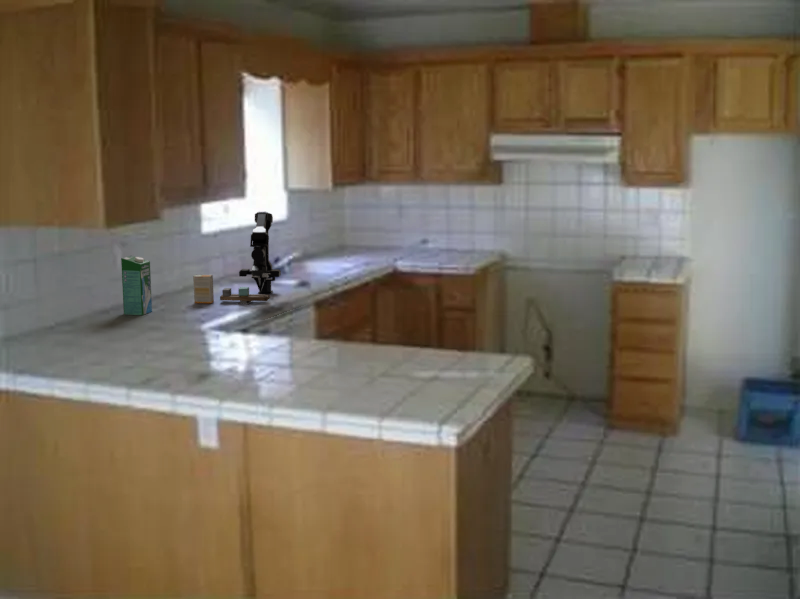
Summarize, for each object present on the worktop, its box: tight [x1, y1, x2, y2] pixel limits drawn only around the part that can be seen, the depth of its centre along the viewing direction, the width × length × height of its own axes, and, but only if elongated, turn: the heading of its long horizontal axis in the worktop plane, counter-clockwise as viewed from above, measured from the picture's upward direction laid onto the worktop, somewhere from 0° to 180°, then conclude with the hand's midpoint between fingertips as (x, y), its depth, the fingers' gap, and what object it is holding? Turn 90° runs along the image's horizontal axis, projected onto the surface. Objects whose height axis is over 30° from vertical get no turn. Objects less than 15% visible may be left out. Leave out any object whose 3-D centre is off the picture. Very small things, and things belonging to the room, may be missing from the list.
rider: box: [238, 286, 250, 296], centre depth 432 cm, size 5×4×5 cm
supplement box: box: [192, 274, 215, 305], centre depth 431 cm, size 8×5×13 cm, turn 84°
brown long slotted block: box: [219, 287, 270, 305], centre depth 433 cm, size 9×22×6 cm, turn 88°
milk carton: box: [120, 255, 153, 316], centre depth 405 cm, size 9×9×25 cm
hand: (260, 291), depth 432 cm, fingers closed
